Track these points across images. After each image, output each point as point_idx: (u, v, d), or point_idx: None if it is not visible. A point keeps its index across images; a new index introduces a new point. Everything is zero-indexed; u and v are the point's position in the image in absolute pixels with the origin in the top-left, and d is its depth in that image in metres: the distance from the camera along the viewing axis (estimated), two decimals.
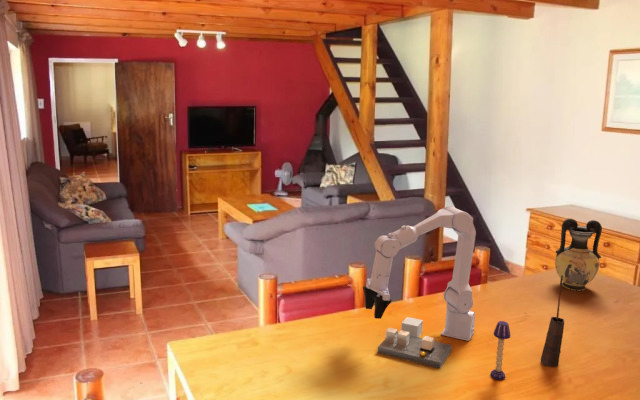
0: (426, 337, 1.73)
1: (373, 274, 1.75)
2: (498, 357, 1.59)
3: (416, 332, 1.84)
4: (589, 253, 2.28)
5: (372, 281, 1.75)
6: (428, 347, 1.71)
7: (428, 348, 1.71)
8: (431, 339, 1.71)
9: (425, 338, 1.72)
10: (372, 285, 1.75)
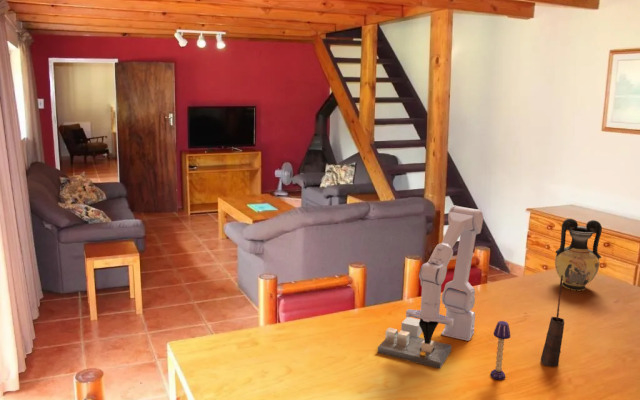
0: None
1: (429, 305, 1.67)
2: (498, 357, 1.59)
3: (416, 332, 1.84)
4: (589, 253, 2.28)
5: (429, 313, 1.67)
6: (428, 351, 1.71)
7: None
8: (431, 343, 1.72)
9: None
10: (430, 316, 1.67)
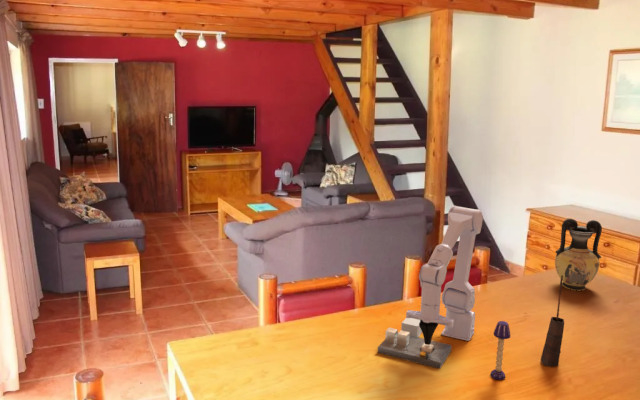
0: (426, 344, 1.73)
1: (429, 307, 1.67)
2: (498, 357, 1.59)
3: (416, 332, 1.84)
4: (589, 253, 2.28)
5: (429, 314, 1.67)
6: None
7: None
8: (430, 346, 1.72)
9: (425, 345, 1.73)
10: (430, 318, 1.68)
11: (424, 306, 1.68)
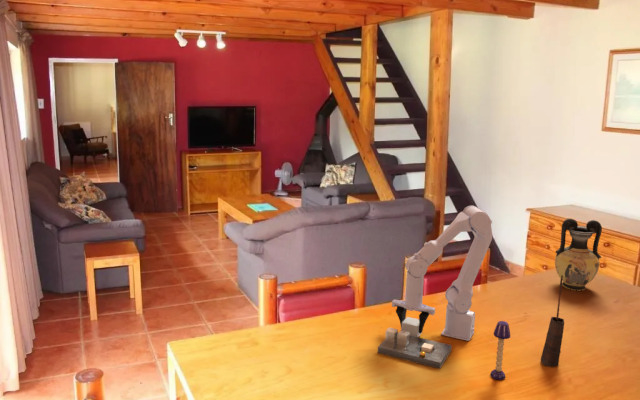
0: (426, 344, 1.73)
1: (413, 296, 1.82)
2: (498, 357, 1.59)
3: (416, 332, 1.84)
4: (589, 253, 2.28)
5: (413, 302, 1.82)
6: None
7: None
8: (430, 346, 1.72)
9: (425, 345, 1.73)
10: (414, 306, 1.83)
11: (408, 295, 1.83)
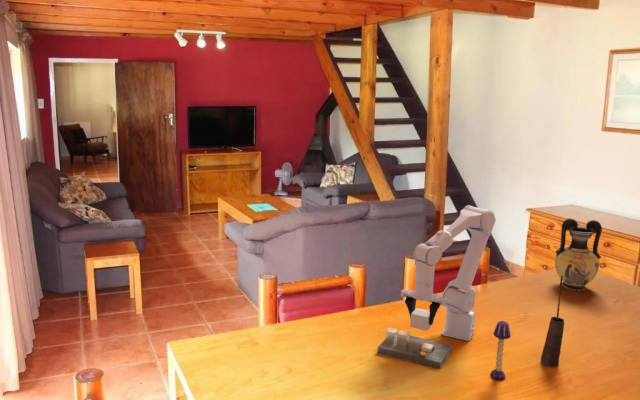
0: (426, 344, 1.73)
1: (423, 285, 1.72)
2: (498, 357, 1.59)
3: (426, 324, 1.74)
4: (589, 253, 2.28)
5: (423, 292, 1.72)
6: None
7: None
8: (430, 346, 1.72)
9: (425, 345, 1.73)
10: (424, 296, 1.73)
11: (418, 285, 1.73)
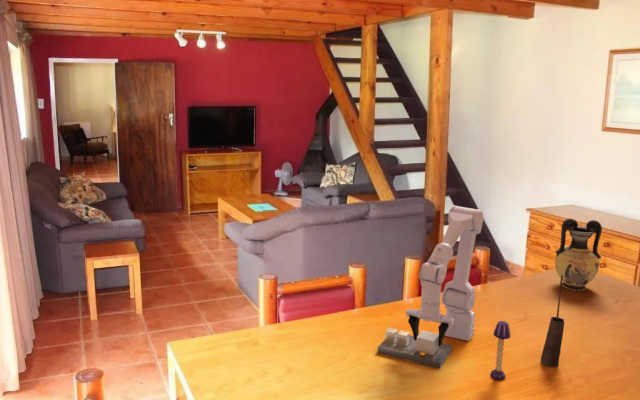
0: None
1: (429, 305, 1.67)
2: (498, 357, 1.59)
3: (432, 348, 1.69)
4: (589, 253, 2.28)
5: (429, 312, 1.67)
6: None
7: None
8: None
9: None
10: (430, 316, 1.67)
11: (424, 305, 1.68)
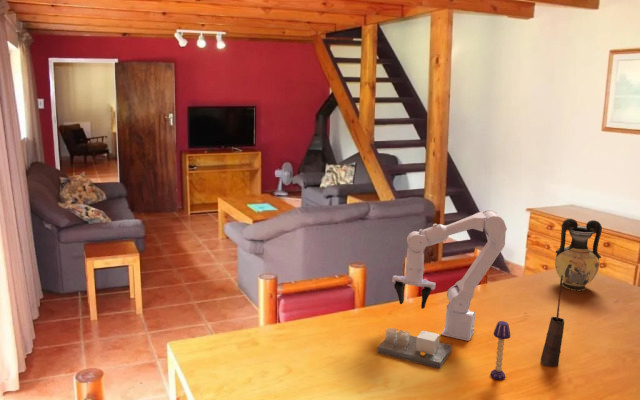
0: None
1: (413, 271, 1.82)
2: (498, 357, 1.59)
3: (432, 348, 1.69)
4: (589, 253, 2.28)
5: (413, 277, 1.83)
6: None
7: None
8: None
9: None
10: (414, 281, 1.83)
11: (408, 270, 1.83)
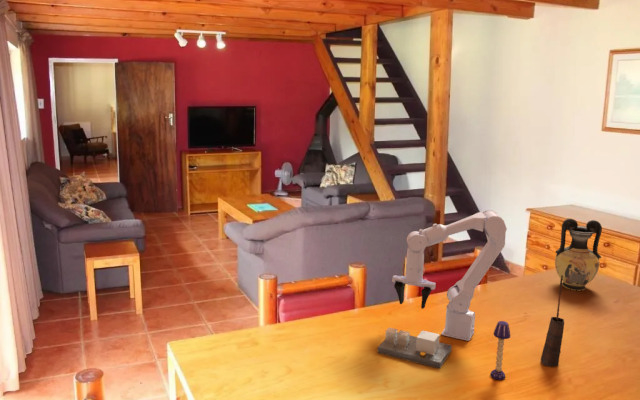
0: None
1: (413, 271, 1.82)
2: (498, 357, 1.59)
3: (432, 348, 1.69)
4: (589, 253, 2.28)
5: (413, 277, 1.83)
6: None
7: None
8: None
9: None
10: (414, 281, 1.83)
11: (408, 270, 1.83)
